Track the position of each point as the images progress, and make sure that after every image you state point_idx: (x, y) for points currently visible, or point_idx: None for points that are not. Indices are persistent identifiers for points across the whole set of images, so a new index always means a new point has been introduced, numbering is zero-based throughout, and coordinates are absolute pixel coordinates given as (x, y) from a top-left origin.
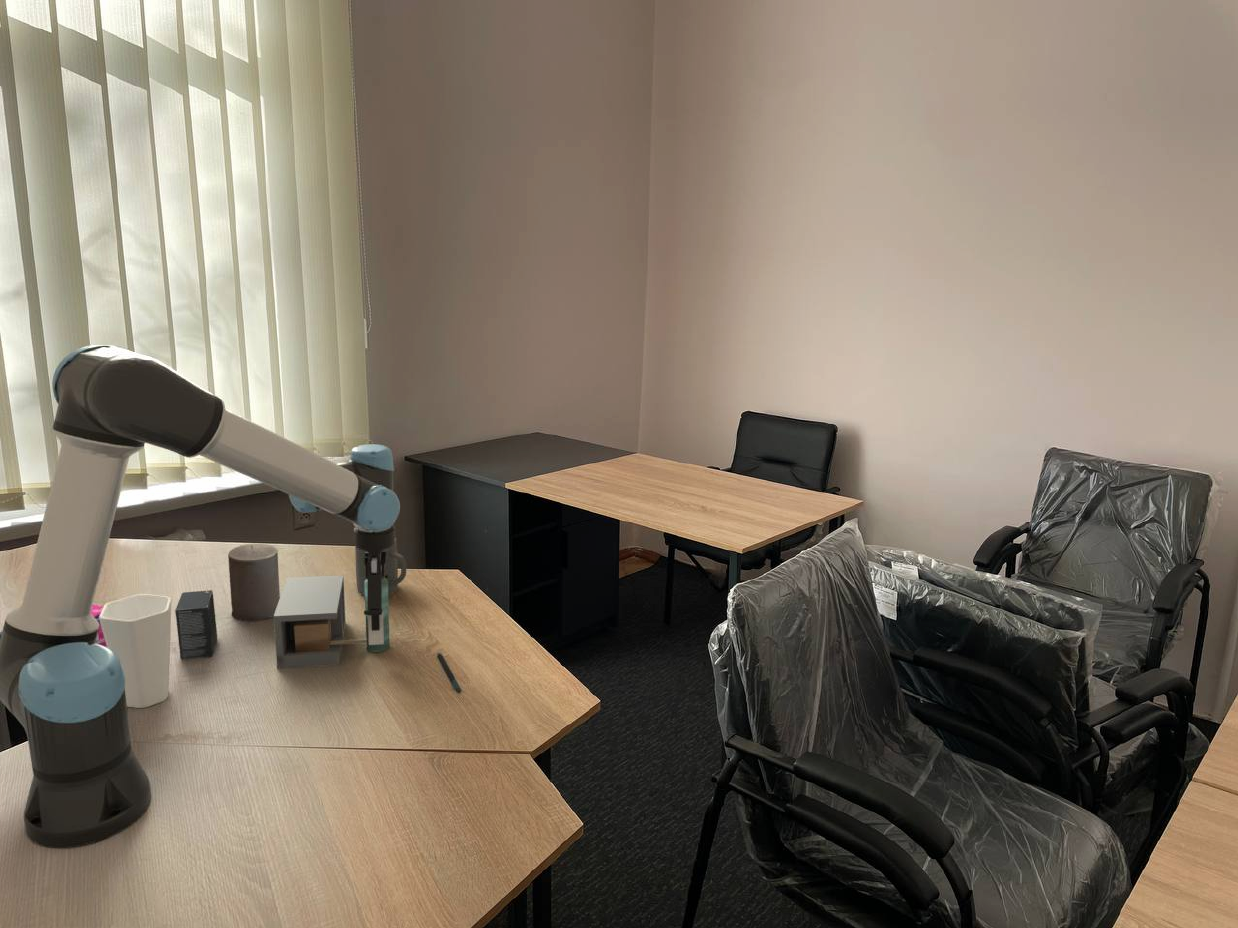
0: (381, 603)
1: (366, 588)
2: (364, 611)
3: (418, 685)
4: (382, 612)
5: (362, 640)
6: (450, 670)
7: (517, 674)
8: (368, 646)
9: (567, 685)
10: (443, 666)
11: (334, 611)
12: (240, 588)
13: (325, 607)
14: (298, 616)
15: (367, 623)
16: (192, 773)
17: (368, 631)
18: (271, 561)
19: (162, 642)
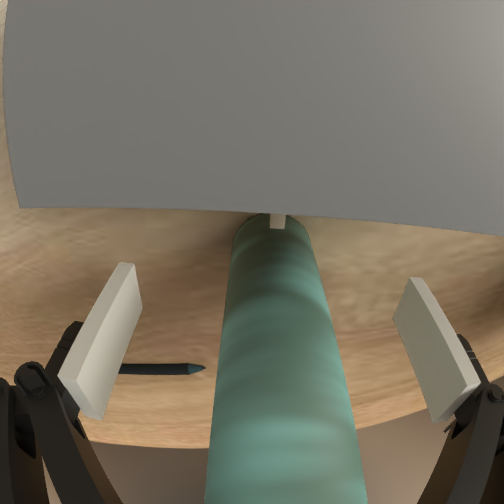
0: (40, 456)
1: (238, 481)
2: (15, 379)
3: (65, 317)
4: (85, 415)
5: (271, 214)
6: (118, 373)
7: (129, 423)
8: (250, 226)
9: (111, 441)
10: (136, 367)
11: (38, 187)
12: None
13: (119, 77)
14: None
15: (248, 284)
16: None
17: (96, 301)
18: None
19: None
